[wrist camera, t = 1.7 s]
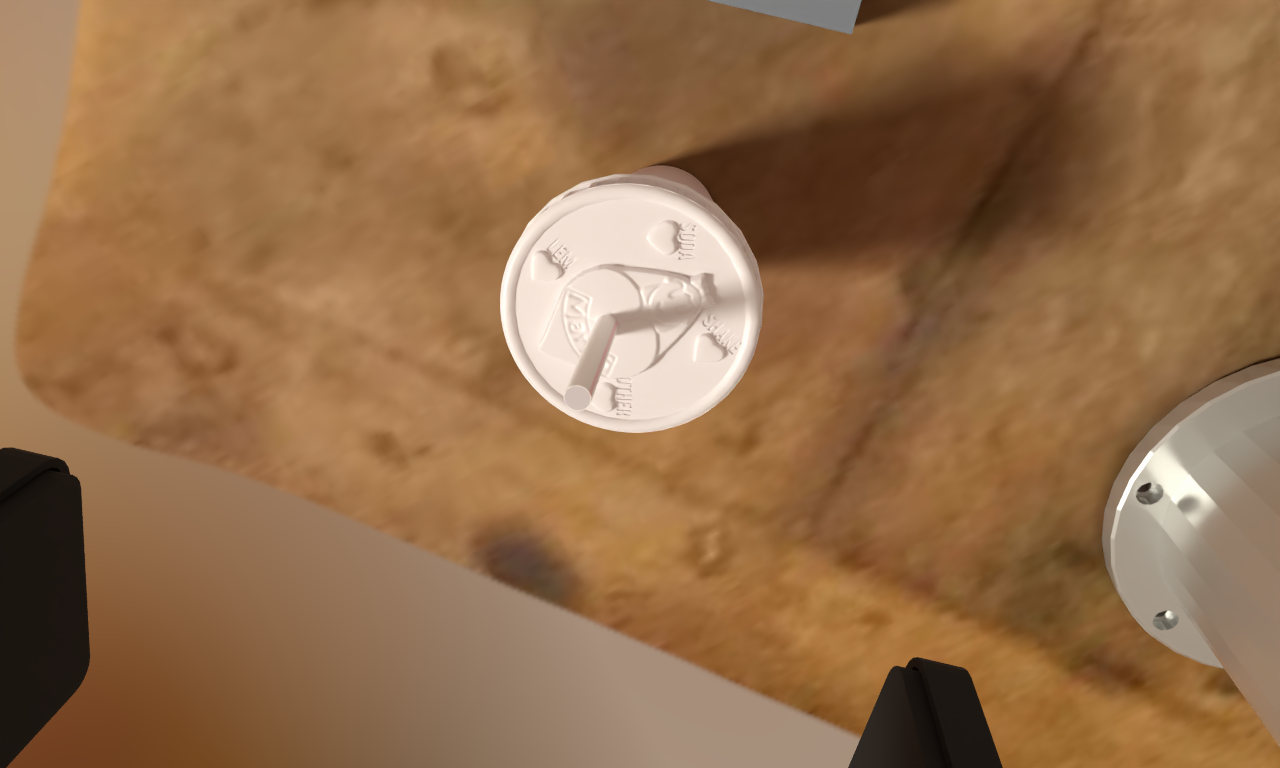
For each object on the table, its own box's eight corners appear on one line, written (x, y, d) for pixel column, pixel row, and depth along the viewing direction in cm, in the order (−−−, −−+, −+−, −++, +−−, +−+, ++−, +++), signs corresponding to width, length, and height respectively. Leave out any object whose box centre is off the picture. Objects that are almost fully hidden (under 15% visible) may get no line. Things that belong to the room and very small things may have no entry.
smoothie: (536, 164, 30) (386, 295, 17) (719, 91, 29) (700, 175, 16) (610, 335, 32) (524, 563, 20) (783, 275, 31) (813, 480, 18)
